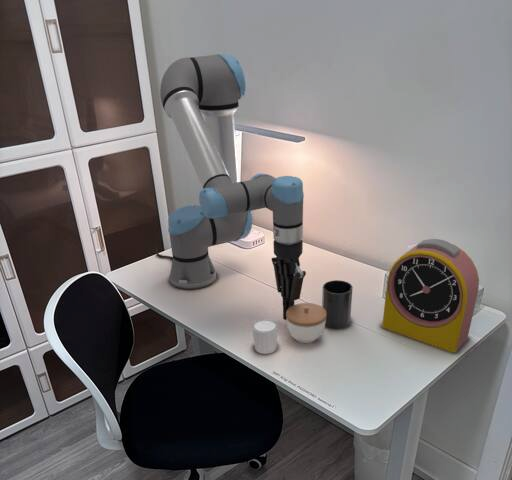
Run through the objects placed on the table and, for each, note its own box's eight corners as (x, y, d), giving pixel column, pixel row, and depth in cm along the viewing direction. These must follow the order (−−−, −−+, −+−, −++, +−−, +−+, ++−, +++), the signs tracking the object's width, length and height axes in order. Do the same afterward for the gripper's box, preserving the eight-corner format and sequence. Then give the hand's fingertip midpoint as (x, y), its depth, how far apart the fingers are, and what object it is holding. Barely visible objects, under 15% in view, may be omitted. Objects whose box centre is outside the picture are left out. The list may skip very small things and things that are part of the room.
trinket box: (320, 350, 137) (322, 320, 132) (281, 344, 140) (281, 314, 135) (329, 329, 146) (330, 299, 140) (291, 324, 149) (291, 295, 143)
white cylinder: (283, 349, 138) (283, 326, 135) (262, 358, 135) (261, 335, 131) (268, 337, 143) (268, 315, 139) (247, 346, 140) (246, 324, 136)
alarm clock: (381, 327, 145) (391, 238, 131) (396, 313, 151) (407, 226, 136) (454, 353, 134) (474, 258, 119) (468, 337, 140) (489, 245, 125)
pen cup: (316, 319, 150) (317, 285, 144) (338, 311, 153) (339, 277, 147) (333, 332, 144) (335, 297, 138) (355, 323, 148) (358, 288, 142)
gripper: (262, 235, 137) (265, 312, 151) (290, 251, 128) (290, 332, 141) (286, 228, 141) (286, 304, 154) (314, 244, 131) (312, 324, 144)
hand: (288, 318), depth 147 cm, fingers closed
